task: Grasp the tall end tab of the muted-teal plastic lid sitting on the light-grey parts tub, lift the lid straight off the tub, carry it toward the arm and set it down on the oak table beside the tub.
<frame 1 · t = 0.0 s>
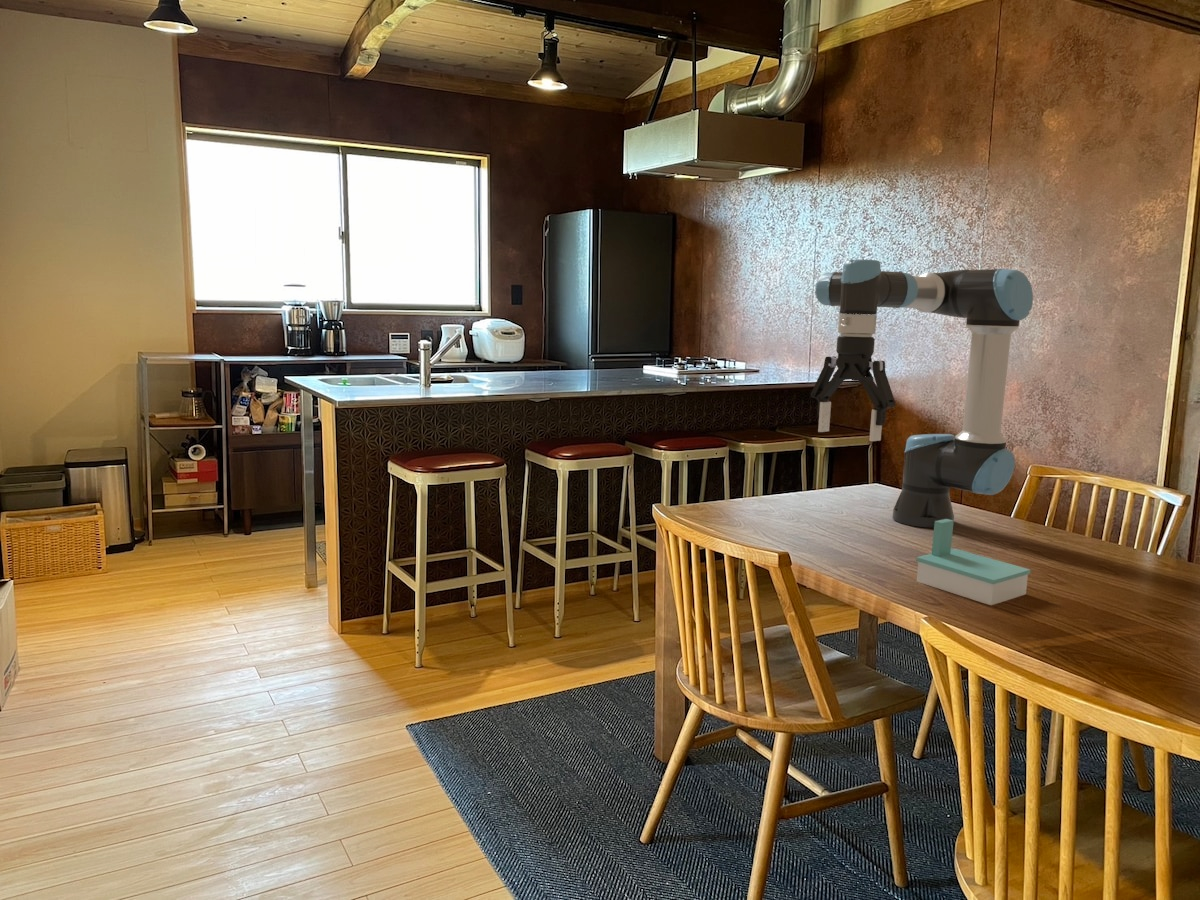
hand: (848, 436, 183), 28 cm above the table, fingers open, 13 cm apart
lid: (972, 567, 170), point 5 cm above the table, touching tub
walnut block A: (959, 580, 175), point 1 cm above the table, touching tub
tub: (969, 591, 171), on the table
walnut block B: (985, 596, 166), point 1 cm above the table, touching tub
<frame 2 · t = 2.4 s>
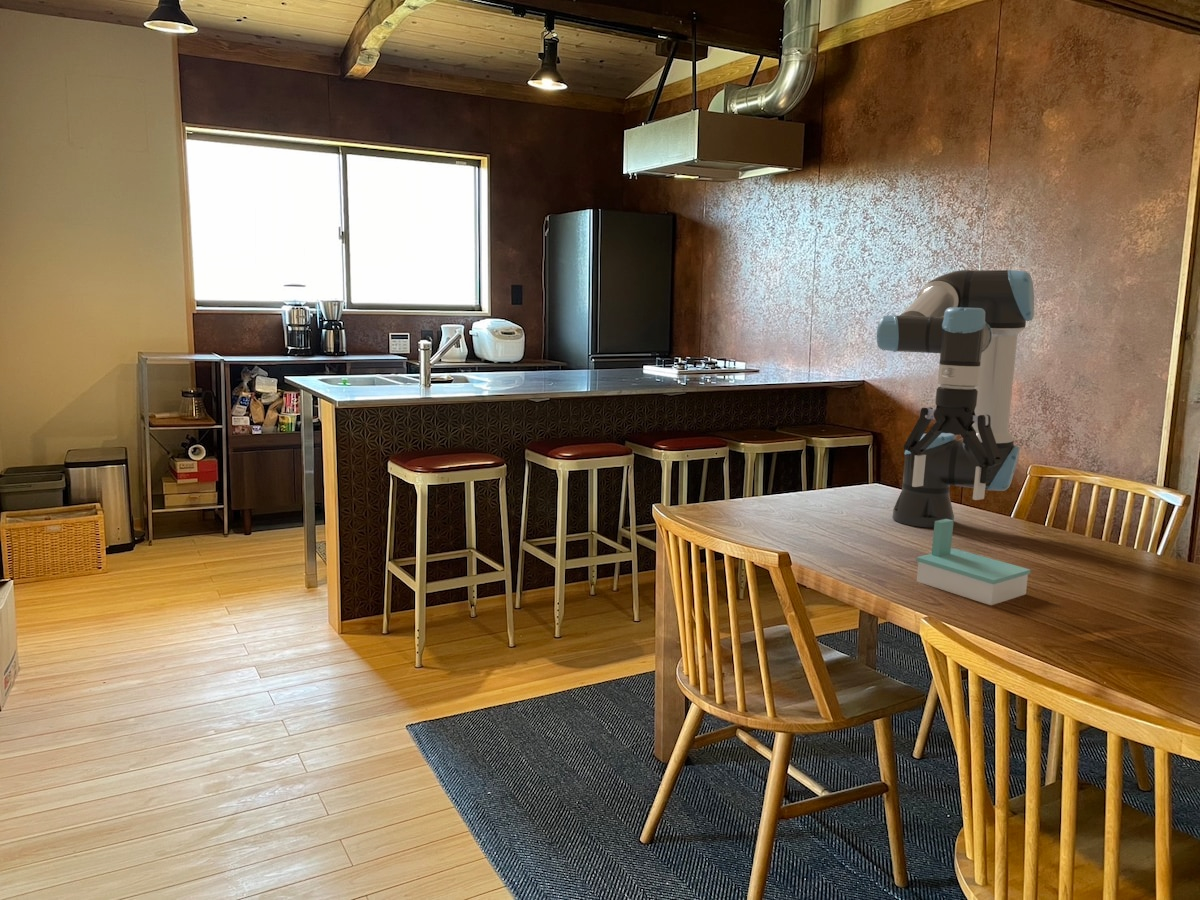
hand: (946, 492, 173), 19 cm above the table, fingers open, 13 cm apart
nothing on the table moved.
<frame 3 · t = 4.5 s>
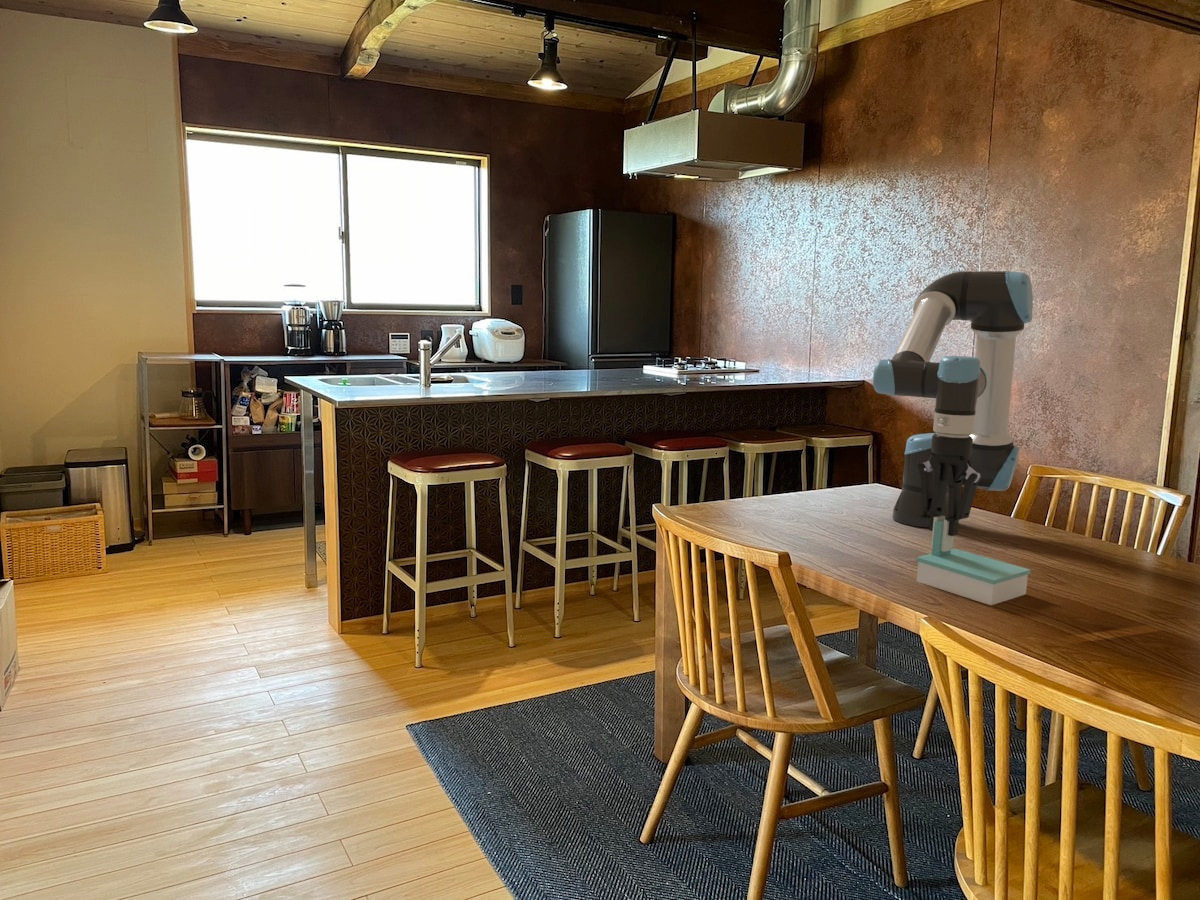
hand: (941, 548, 175), 7 cm above the table, fingers closed on lid, 2 cm apart
lid: (972, 567, 170), point 5 cm above the table, touching gripper, tub
everything else where it was.
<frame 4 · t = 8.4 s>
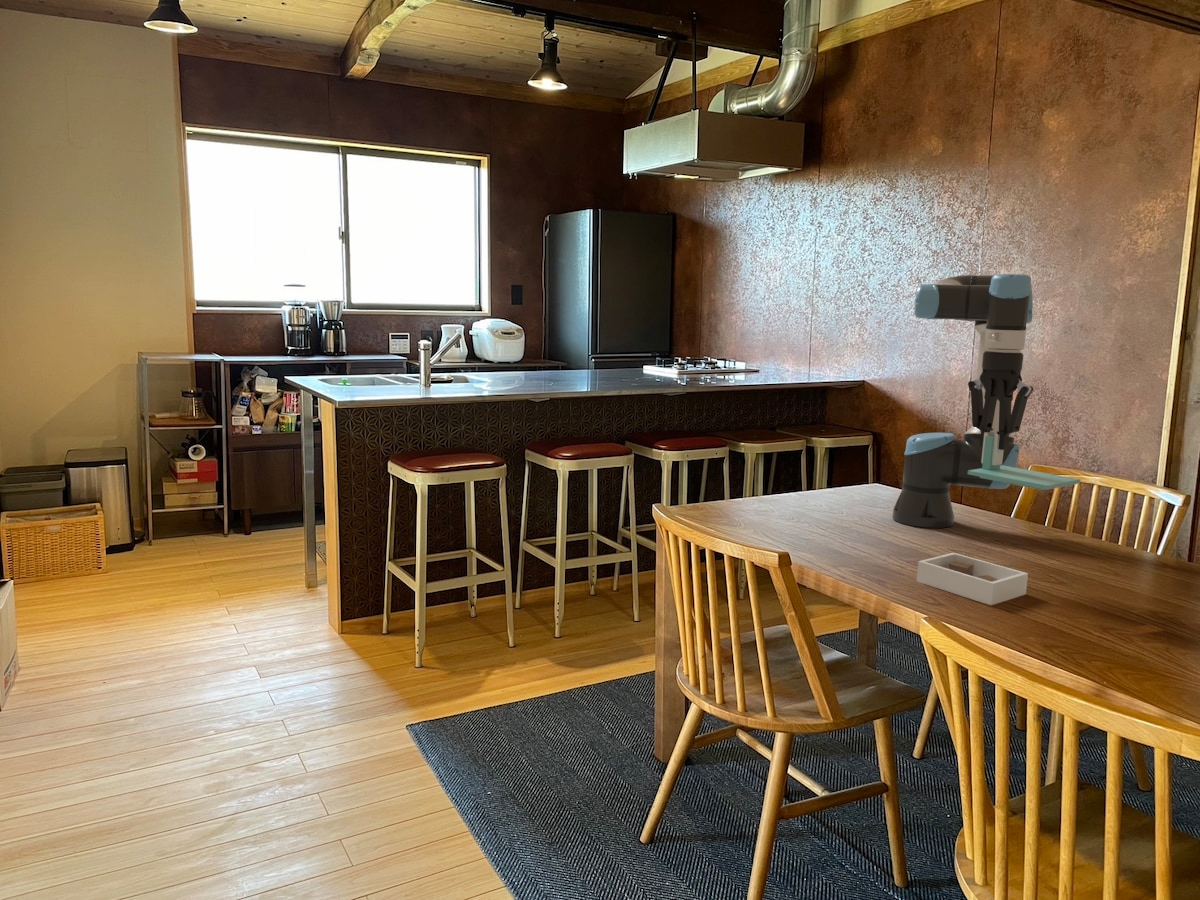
hand: (991, 463, 181), 23 cm above the table, fingers closed on lid, 2 cm apart
lid: (1022, 478, 175), point 21 cm above the table, touching gripper
everything else where it was.
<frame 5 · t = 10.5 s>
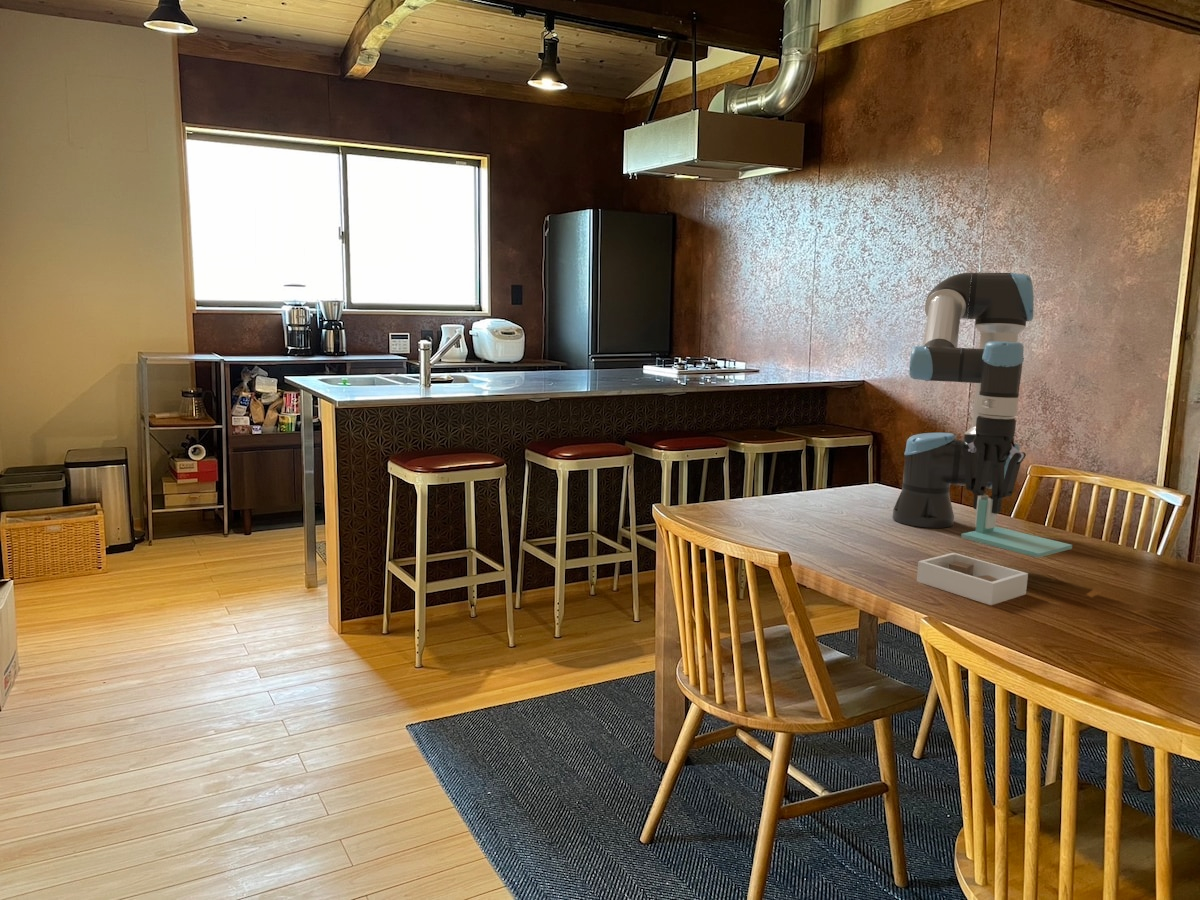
hand: (984, 526, 183), 10 cm above the table, fingers closed on lid, 2 cm apart
lid: (1015, 542, 178), point 8 cm above the table, touching gripper
everything else where it was.
when the fingers open (3 cm above the table, at t = 12.4 s): lid drops 1 cm, on the table.
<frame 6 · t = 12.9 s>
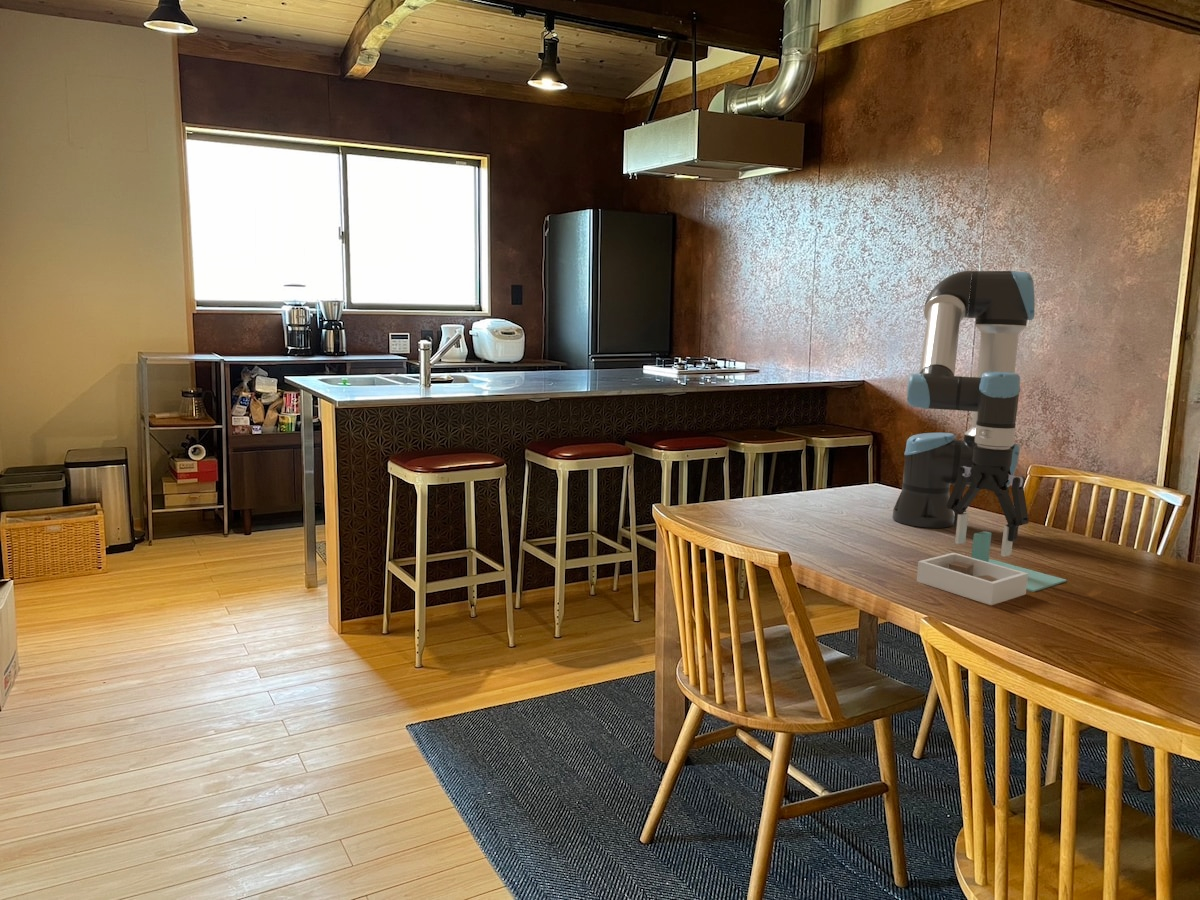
hand: (982, 549, 184), 5 cm above the table, fingers open, 10 cm apart
lid: (1010, 577, 179), on the table
everything else where it was.
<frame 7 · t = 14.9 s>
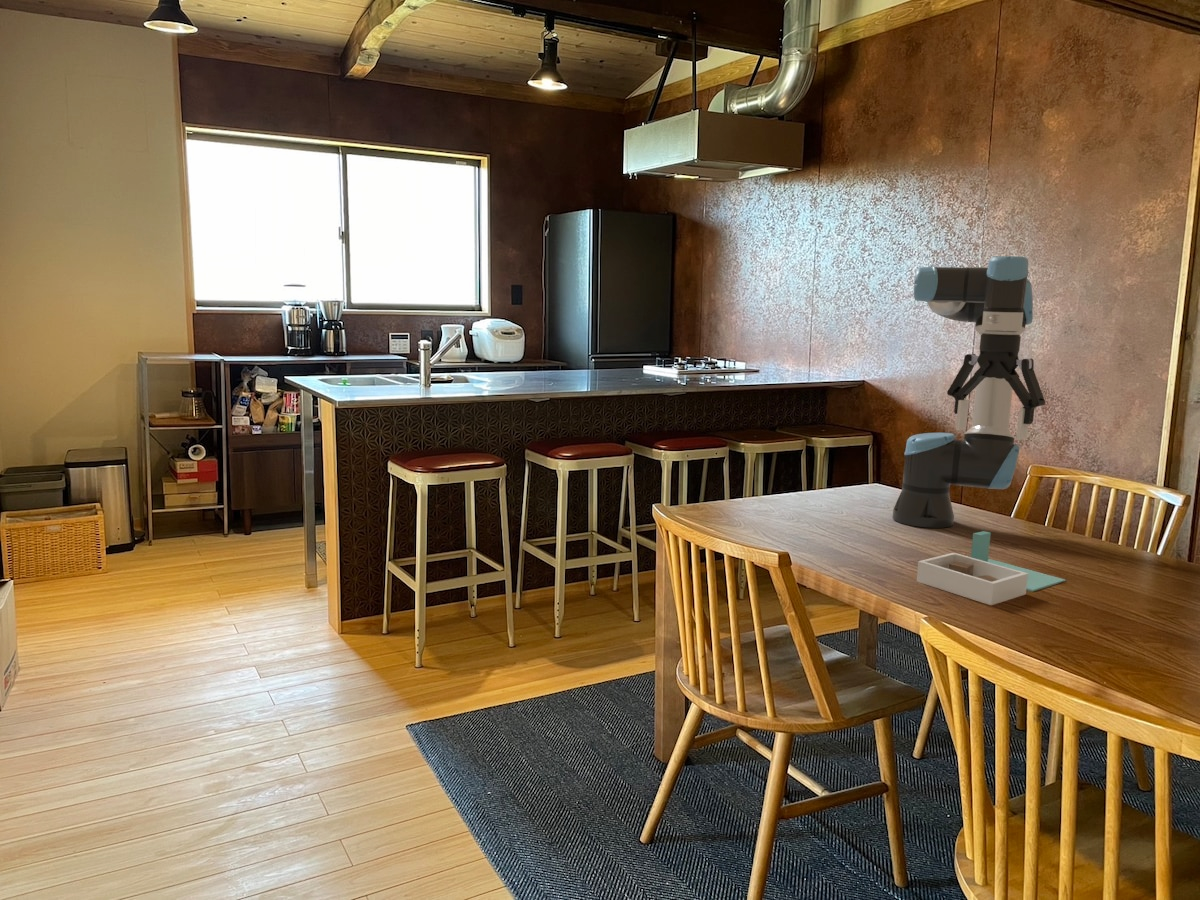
hand: (990, 434, 181), 29 cm above the table, fingers open, 13 cm apart
nothing on the table moved.
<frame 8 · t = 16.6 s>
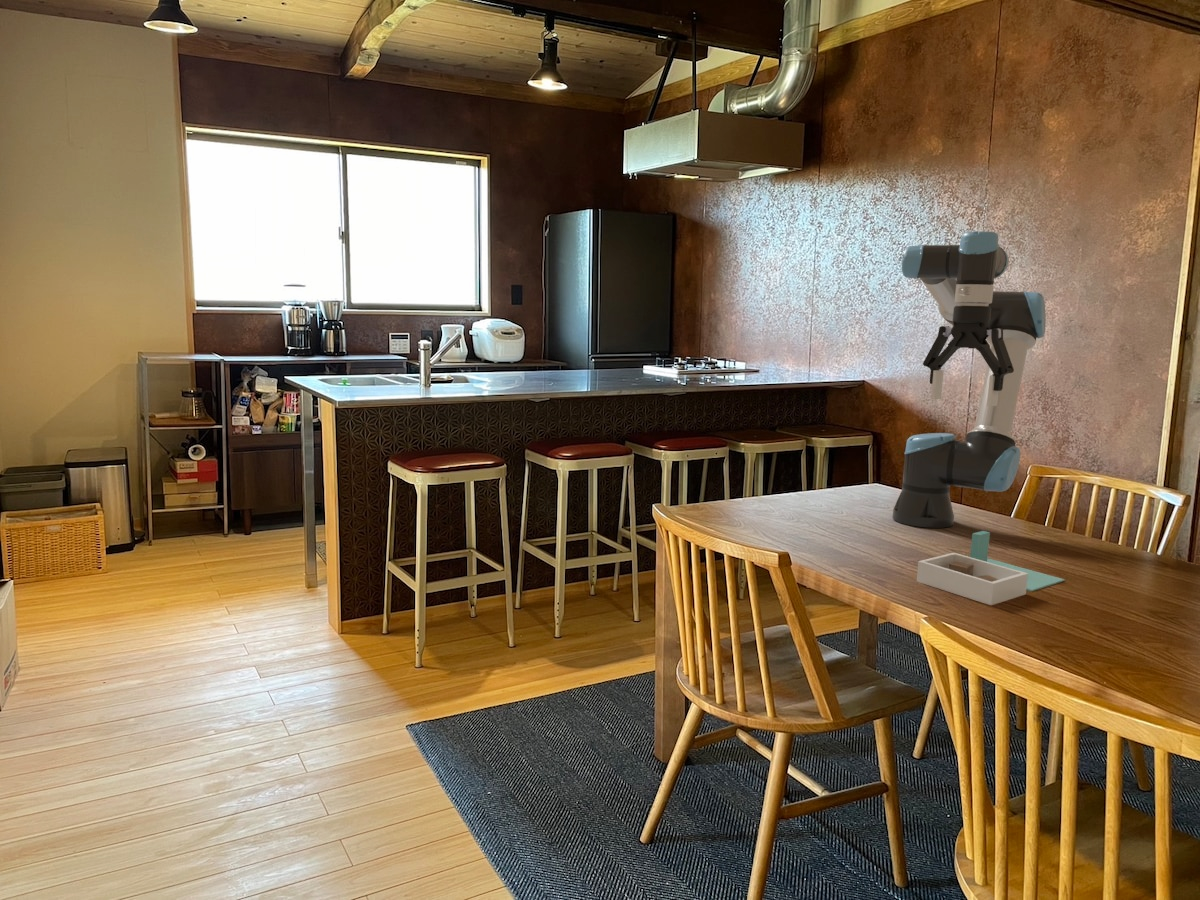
hand: (963, 402, 190), 35 cm above the table, fingers open, 13 cm apart
nothing on the table moved.
at the end: lid inside the target area (1.8 cm from its centre), on the table; lid touching table; the gripper is holding nothing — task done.
